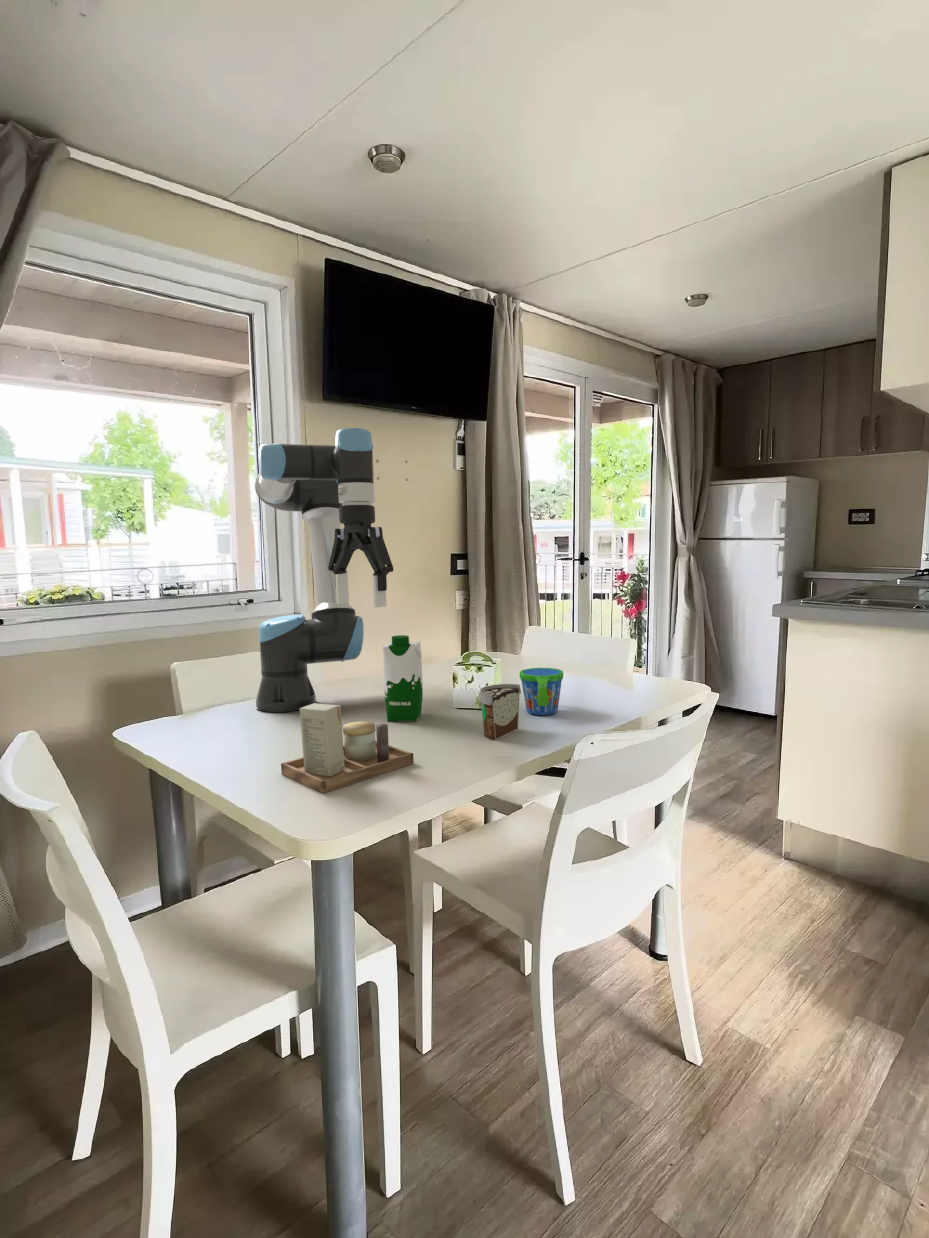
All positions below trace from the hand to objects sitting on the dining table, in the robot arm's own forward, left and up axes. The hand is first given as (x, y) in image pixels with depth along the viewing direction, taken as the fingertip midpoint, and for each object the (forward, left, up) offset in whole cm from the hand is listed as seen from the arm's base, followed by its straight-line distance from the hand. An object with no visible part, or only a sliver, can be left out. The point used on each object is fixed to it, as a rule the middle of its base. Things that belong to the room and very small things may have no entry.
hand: (360, 605), depth 141 cm
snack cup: (+17, +40, -29) cm, 52 cm away
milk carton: (-5, +15, -29) cm, 33 cm away
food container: (+20, +20, -29) cm, 40 cm away
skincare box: (+15, -20, -28) cm, 38 cm away
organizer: (+15, -15, -29) cm, 36 cm away
